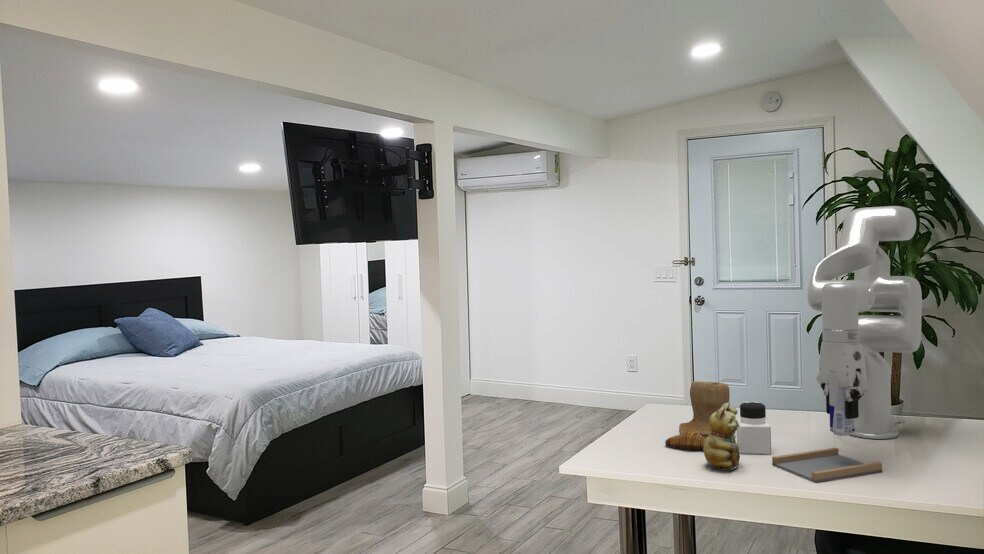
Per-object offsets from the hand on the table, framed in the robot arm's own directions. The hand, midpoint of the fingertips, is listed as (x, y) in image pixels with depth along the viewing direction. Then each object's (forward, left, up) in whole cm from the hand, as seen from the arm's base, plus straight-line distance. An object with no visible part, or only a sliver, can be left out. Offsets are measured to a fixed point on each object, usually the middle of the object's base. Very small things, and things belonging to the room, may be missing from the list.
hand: (842, 414), depth 165 cm
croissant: (+23, -27, -12) cm, 37 cm away
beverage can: (0, 0, -5) cm, 5 cm away
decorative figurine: (+25, -11, -12) cm, 30 cm away
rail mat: (+5, 0, -12) cm, 13 cm away
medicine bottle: (+10, -19, -12) cm, 25 cm away
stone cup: (+12, -37, -12) cm, 41 cm away
